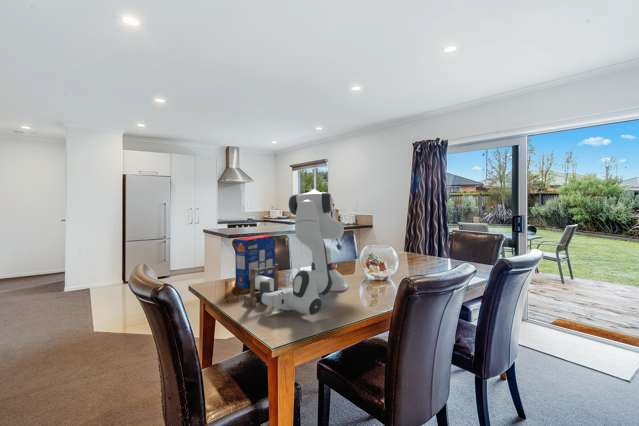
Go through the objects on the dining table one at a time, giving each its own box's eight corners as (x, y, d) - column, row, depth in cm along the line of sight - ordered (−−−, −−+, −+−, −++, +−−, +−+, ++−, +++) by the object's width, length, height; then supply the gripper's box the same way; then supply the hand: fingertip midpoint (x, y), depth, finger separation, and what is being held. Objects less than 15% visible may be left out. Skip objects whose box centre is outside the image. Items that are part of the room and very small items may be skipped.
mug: (264, 294, 171) (264, 279, 171) (252, 290, 177) (252, 276, 177) (280, 289, 180) (280, 275, 180) (269, 286, 187) (269, 272, 186)
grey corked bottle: (271, 301, 159) (271, 280, 158) (266, 304, 154) (266, 282, 153) (263, 300, 160) (263, 279, 160) (257, 303, 156) (257, 281, 155)
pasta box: (265, 277, 209) (265, 234, 207) (275, 278, 205) (275, 235, 204) (235, 287, 184) (235, 239, 183) (246, 289, 180) (246, 240, 179)
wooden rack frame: (279, 299, 161) (279, 264, 161) (253, 307, 150) (253, 269, 149) (269, 296, 167) (269, 262, 166) (244, 303, 156) (243, 266, 155)
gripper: (308, 287, 149) (289, 281, 159) (273, 295, 135) (254, 289, 145) (308, 300, 150) (289, 294, 159) (273, 310, 135) (254, 303, 145)
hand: (272, 291), depth 152 cm, fingers open, 8 cm apart
